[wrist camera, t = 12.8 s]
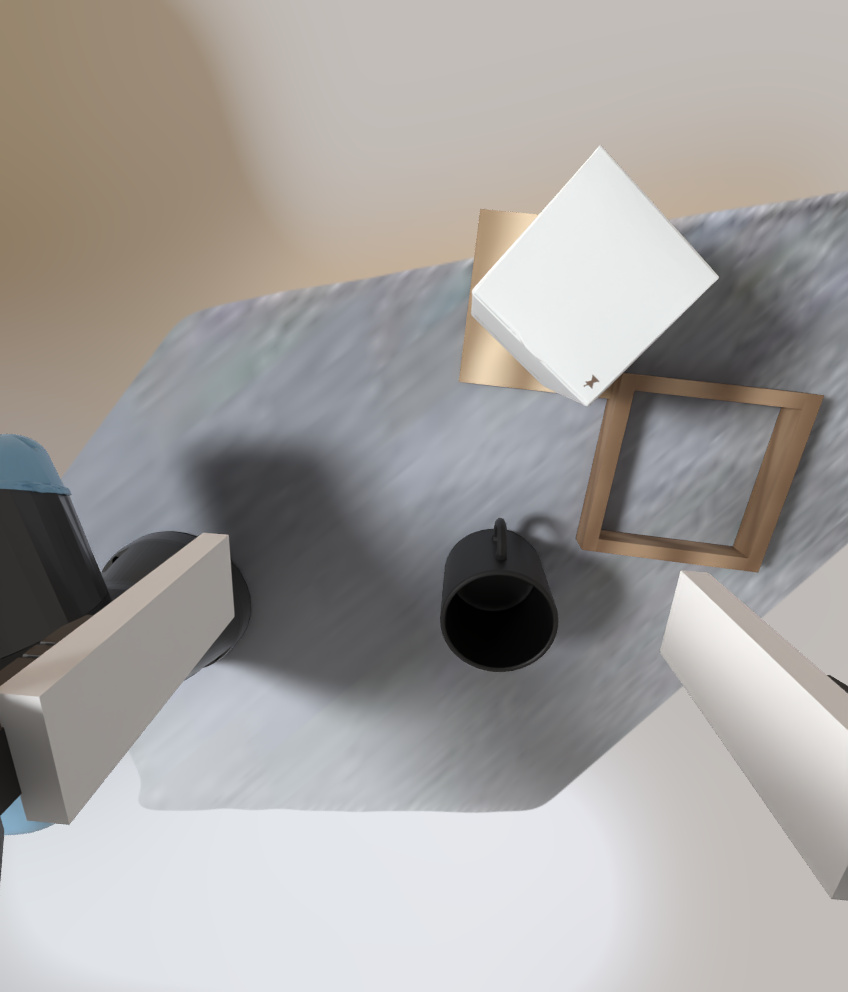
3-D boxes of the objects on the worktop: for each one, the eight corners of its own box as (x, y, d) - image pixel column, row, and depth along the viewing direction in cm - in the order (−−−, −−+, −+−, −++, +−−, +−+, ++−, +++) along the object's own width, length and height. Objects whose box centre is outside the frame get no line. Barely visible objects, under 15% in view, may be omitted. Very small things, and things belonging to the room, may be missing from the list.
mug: (549, 504, 43) (569, 544, 35) (536, 616, 47) (551, 677, 38) (447, 499, 44) (443, 536, 35) (442, 609, 48) (438, 668, 39)
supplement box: (628, 304, 37) (730, 279, 23) (544, 388, 39) (588, 414, 25) (548, 218, 35) (604, 134, 21) (466, 312, 38) (467, 293, 24)
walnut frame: (575, 538, 44) (581, 549, 42) (613, 371, 39) (623, 373, 37) (742, 559, 43) (758, 572, 41) (802, 392, 38) (824, 395, 36)
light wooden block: (459, 381, 40) (458, 381, 40) (480, 211, 36) (480, 208, 36) (609, 398, 40) (612, 398, 39) (649, 227, 36) (651, 225, 35)
